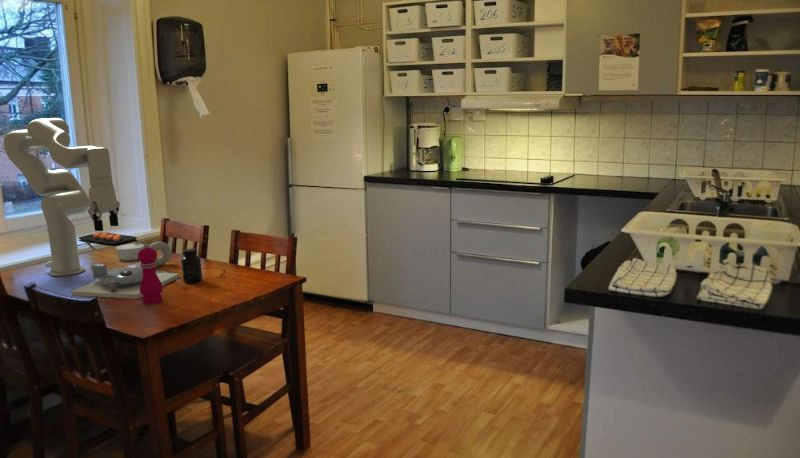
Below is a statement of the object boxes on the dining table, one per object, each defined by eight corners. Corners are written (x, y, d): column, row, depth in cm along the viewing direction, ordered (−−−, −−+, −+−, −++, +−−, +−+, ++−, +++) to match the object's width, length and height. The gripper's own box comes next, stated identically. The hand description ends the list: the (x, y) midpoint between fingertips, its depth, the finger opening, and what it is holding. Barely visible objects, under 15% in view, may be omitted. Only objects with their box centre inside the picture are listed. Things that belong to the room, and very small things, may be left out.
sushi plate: (140, 241, 316) (139, 233, 315) (81, 255, 291) (80, 246, 290) (103, 235, 331) (102, 228, 330) (44, 248, 306) (43, 240, 306)
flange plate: (163, 272, 245) (161, 260, 244) (133, 286, 228) (132, 273, 227) (111, 270, 250) (110, 258, 249) (78, 284, 233) (77, 271, 232)
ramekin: (151, 256, 283) (149, 244, 281) (128, 262, 273) (126, 250, 272) (134, 254, 288) (133, 242, 287) (111, 259, 279) (110, 247, 278)
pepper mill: (144, 298, 223) (138, 241, 219) (166, 297, 224) (160, 240, 220) (138, 305, 216) (131, 246, 212) (160, 304, 217) (154, 245, 213)
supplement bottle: (206, 279, 245) (203, 248, 242) (195, 284, 239) (192, 252, 236) (190, 278, 247) (187, 247, 245) (179, 283, 241) (176, 251, 238)
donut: (148, 268, 263) (145, 244, 260) (145, 267, 265) (143, 242, 263) (173, 264, 268) (171, 240, 266) (170, 262, 271) (168, 239, 269)
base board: (71, 295, 230) (70, 287, 229) (119, 275, 254) (118, 268, 254) (137, 298, 224) (136, 290, 223) (179, 277, 248) (178, 270, 248)
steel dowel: (109, 292, 227) (107, 282, 226) (112, 290, 229) (111, 280, 228) (114, 292, 227) (112, 282, 226) (117, 290, 229) (116, 280, 228)
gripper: (107, 178, 249) (113, 223, 253) (75, 184, 233) (82, 233, 236) (125, 178, 248) (130, 223, 251) (94, 184, 231) (100, 233, 235)
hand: (106, 228), depth 244 cm, fingers open, 8 cm apart
